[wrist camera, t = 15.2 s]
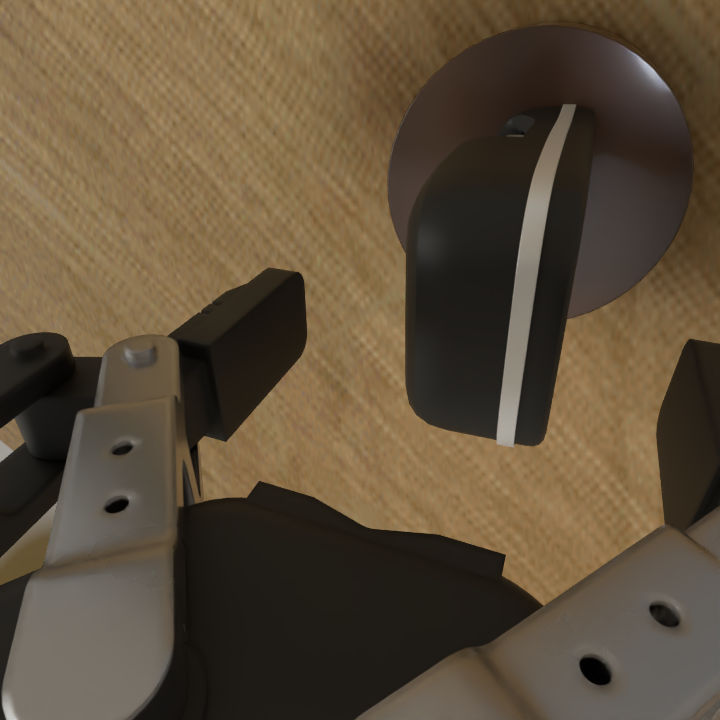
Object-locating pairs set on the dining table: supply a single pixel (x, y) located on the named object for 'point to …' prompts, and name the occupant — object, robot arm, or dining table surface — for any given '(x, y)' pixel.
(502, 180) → the battery charger
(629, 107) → the brown round disc
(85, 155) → the dining table surface
